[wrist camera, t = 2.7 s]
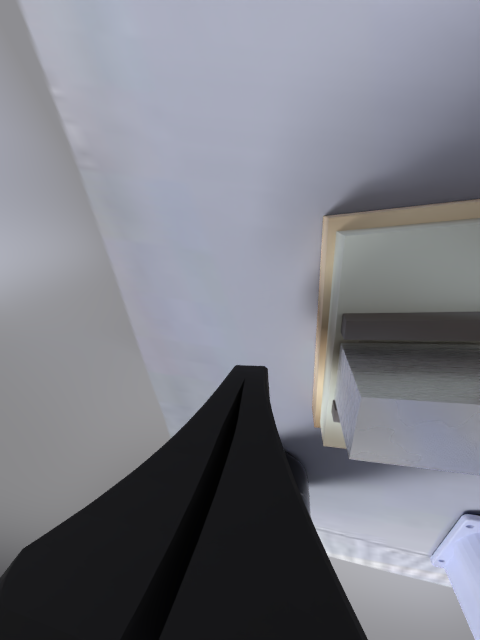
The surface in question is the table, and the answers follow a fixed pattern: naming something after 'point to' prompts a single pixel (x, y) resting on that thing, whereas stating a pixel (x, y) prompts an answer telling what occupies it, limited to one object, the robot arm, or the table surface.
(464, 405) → the bolt
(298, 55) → the table surface
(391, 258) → the lock board
